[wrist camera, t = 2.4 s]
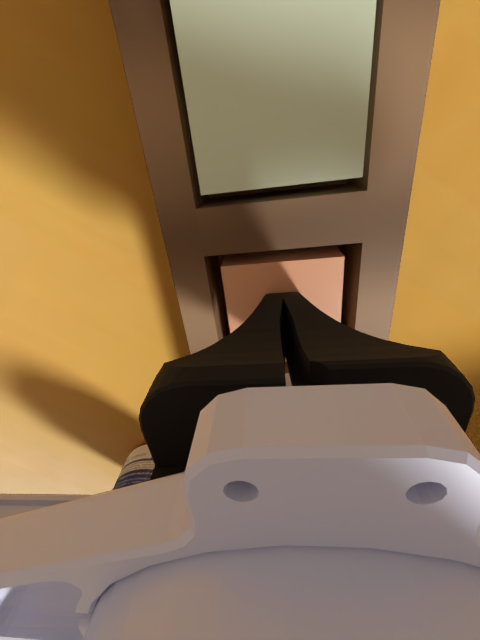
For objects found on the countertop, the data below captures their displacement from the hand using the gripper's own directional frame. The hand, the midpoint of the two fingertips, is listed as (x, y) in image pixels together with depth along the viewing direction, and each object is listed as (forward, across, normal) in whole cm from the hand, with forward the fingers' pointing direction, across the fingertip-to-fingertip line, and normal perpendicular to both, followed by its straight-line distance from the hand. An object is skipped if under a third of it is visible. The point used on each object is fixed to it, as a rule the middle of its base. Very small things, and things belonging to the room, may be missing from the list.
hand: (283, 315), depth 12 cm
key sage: (+1, 0, -7) cm, 7 cm away
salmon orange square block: (+2, 0, 0) cm, 2 cm away
